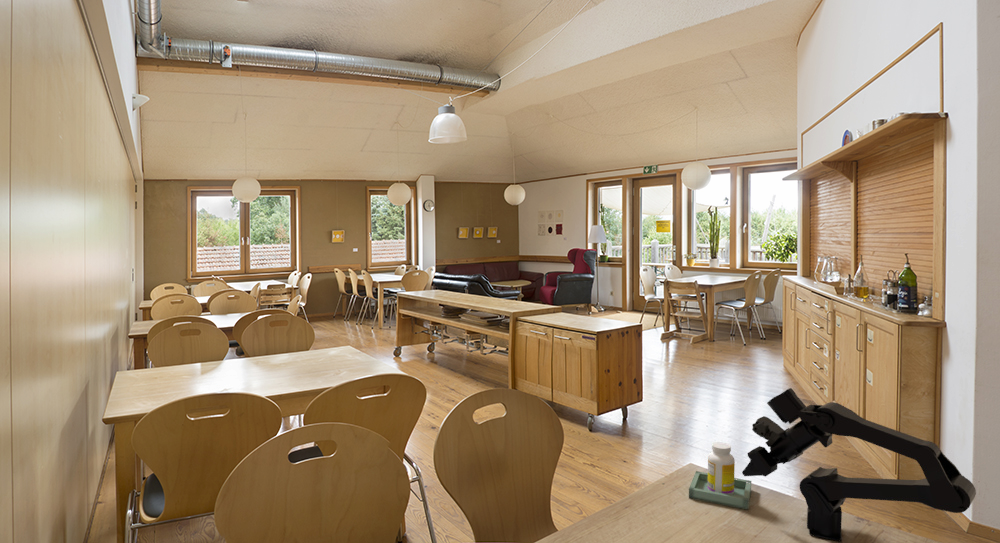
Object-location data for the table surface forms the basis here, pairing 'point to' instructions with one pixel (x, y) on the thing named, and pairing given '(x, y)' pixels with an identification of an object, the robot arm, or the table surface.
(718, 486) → the supplement bottle
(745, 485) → the tub
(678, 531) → the table surface
